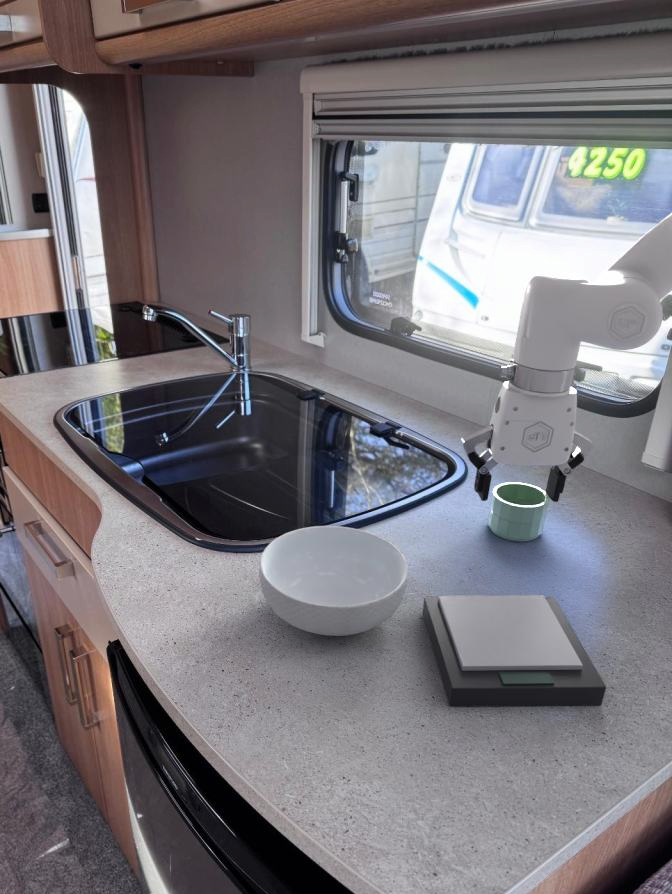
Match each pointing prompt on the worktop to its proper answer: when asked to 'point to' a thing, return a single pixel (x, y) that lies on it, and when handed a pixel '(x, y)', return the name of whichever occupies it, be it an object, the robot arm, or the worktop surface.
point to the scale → (509, 652)
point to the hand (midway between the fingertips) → (516, 496)
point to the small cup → (518, 511)
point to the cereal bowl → (333, 579)
